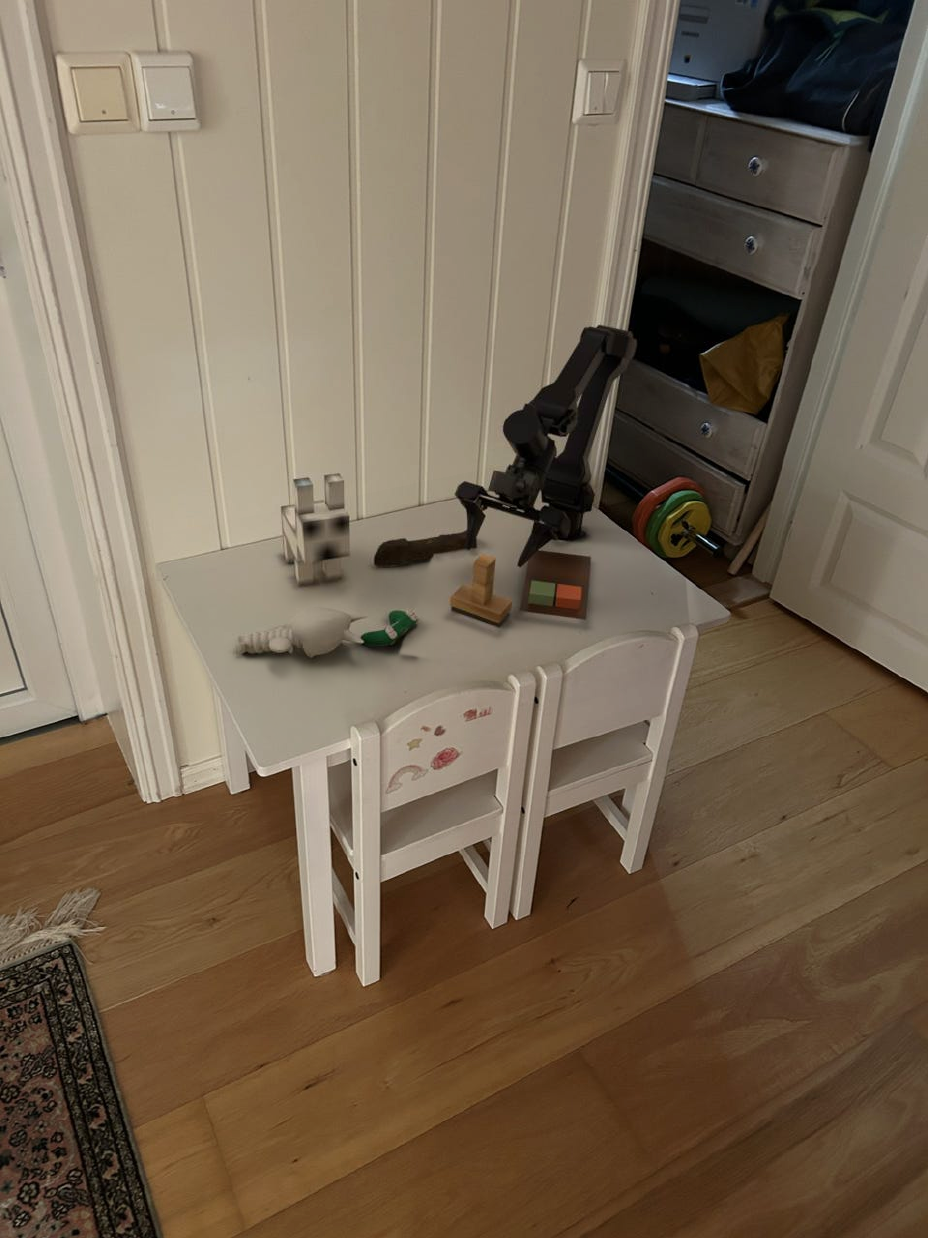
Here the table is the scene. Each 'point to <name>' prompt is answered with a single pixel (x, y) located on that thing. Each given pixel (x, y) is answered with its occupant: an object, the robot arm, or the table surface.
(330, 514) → the white blocky toy rabbit
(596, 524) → the table surface
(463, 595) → the brush
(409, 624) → the green stocking
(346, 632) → the toy creature
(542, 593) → the clay sage
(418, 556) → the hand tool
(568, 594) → the clay terracotta
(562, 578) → the board
